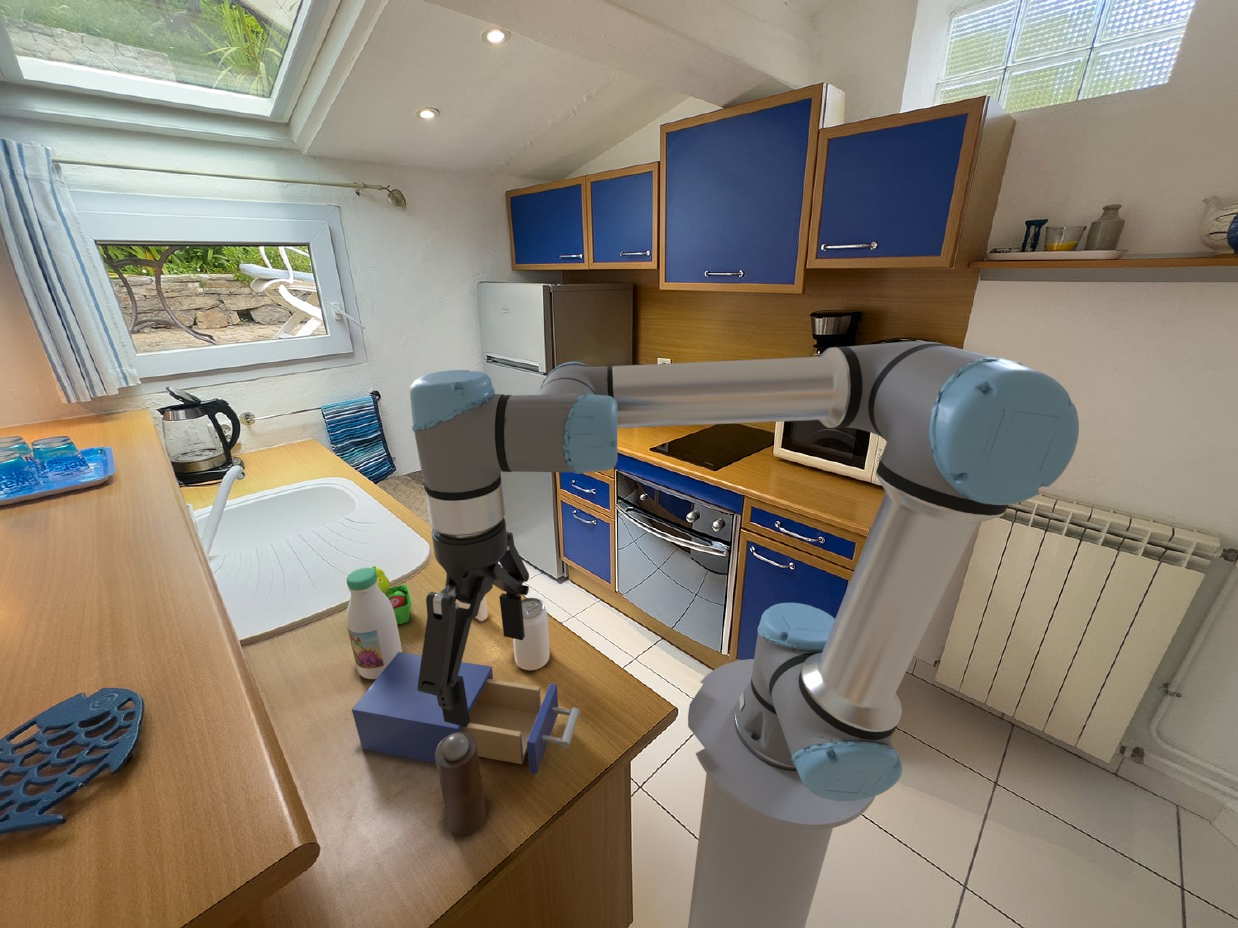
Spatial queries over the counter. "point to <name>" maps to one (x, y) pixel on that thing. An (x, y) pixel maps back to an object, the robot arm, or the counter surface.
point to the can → (533, 636)
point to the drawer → (517, 722)
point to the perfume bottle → (482, 609)
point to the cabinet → (409, 709)
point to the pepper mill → (461, 782)
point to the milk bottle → (371, 624)
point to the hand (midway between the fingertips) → (488, 674)
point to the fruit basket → (395, 597)
